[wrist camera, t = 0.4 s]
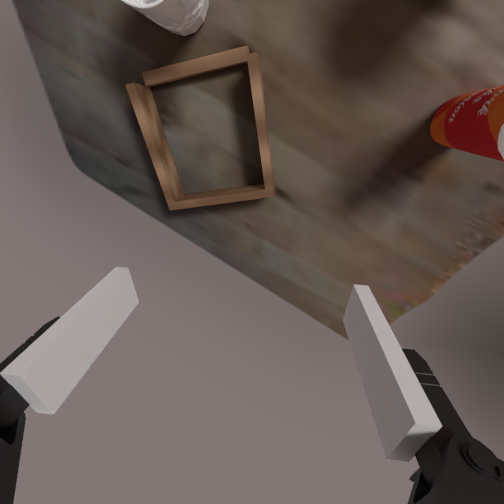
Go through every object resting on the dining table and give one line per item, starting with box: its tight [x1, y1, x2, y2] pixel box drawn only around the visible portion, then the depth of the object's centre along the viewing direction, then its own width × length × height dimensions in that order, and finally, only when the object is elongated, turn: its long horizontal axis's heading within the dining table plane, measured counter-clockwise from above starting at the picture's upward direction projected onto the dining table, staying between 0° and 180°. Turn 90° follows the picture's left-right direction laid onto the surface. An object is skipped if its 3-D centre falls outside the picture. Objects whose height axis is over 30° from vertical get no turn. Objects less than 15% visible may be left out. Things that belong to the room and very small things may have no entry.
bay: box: [125, 46, 275, 211], centre depth 32 cm, size 18×16×4 cm
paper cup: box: [430, 85, 504, 161], centre depth 23 cm, size 8×8×14 cm
